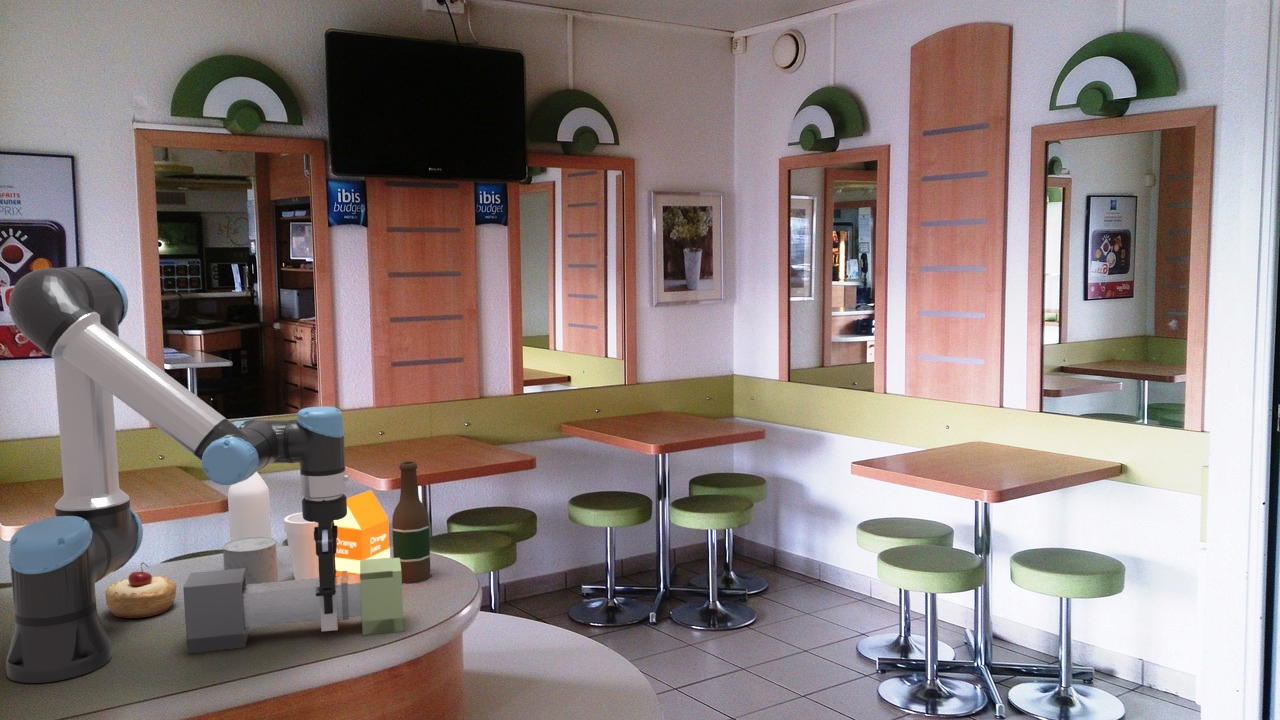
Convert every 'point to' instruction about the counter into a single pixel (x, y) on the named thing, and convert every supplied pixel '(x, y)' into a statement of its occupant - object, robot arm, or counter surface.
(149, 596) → the pastry
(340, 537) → the orange juice
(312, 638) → the counter surface
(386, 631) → the socket
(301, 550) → the foam cup
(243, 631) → the sleeve
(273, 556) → the gray cylinder
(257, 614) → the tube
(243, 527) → the bottle
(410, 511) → the beer bottle
